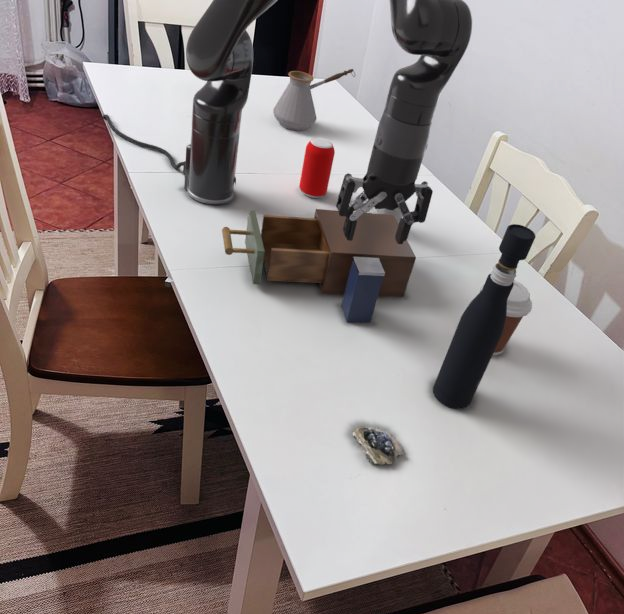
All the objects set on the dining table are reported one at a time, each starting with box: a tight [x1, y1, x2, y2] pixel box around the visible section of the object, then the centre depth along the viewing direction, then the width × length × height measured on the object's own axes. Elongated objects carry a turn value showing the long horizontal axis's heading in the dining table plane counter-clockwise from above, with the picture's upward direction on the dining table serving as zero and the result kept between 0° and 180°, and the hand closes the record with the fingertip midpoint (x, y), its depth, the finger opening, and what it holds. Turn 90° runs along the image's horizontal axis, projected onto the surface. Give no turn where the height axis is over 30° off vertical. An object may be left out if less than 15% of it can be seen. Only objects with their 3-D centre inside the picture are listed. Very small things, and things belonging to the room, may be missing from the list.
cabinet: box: [313, 208, 417, 298], centre depth 123 cm, size 16×15×9 cm
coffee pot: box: [272, 68, 356, 132], centre depth 172 cm, size 21×12×15 cm, turn 120°
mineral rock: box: [352, 425, 405, 466], centre depth 92 cm, size 7×8×2 cm
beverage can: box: [299, 137, 336, 199], centre depth 143 cm, size 6×6×12 cm
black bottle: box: [432, 223, 536, 410], centre depth 95 cm, size 6×6×30 cm
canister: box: [340, 257, 385, 323], centre depth 112 cm, size 4×4×10 cm
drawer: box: [221, 209, 329, 286], centre depth 118 cm, size 20×14×7 cm
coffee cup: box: [479, 279, 533, 356], centre depth 113 cm, size 9×9×12 cm
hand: (373, 239), depth 106 cm, fingers open, 8 cm apart
